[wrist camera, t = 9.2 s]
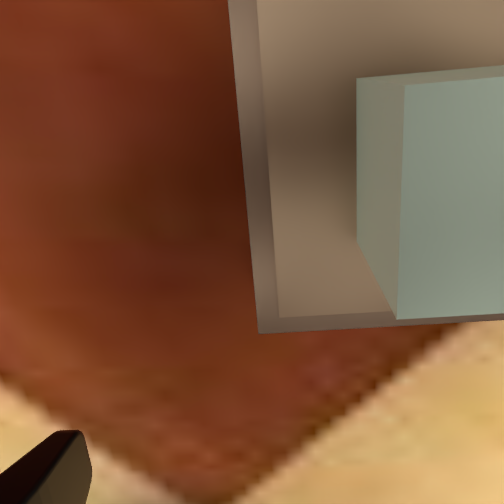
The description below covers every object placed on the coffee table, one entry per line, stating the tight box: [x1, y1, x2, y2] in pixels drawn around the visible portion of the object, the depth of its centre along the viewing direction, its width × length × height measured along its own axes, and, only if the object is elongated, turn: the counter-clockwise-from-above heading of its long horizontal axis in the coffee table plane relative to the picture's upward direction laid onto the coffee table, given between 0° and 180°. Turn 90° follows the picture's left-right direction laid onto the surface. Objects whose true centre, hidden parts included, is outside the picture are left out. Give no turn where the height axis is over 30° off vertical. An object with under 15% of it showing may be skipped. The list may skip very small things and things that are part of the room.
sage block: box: [356, 65, 504, 320], centre depth 12 cm, size 5×5×5 cm
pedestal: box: [228, 0, 504, 334], centre depth 16 cm, size 12×12×4 cm
